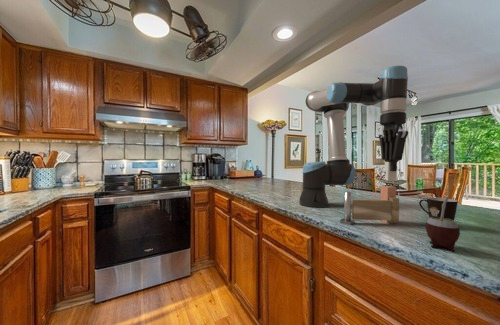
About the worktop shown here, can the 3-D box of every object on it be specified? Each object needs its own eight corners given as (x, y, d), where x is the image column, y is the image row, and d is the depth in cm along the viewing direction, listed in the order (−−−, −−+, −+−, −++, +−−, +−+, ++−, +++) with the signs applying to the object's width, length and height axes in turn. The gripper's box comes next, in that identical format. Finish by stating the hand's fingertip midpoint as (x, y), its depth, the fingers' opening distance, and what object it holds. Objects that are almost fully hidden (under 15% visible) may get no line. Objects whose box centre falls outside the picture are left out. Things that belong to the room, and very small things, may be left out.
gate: (351, 219, 82) (351, 196, 82) (394, 220, 81) (395, 197, 81) (354, 221, 80) (354, 197, 79) (398, 222, 79) (399, 198, 79)
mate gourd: (439, 241, 63) (440, 192, 62) (470, 253, 55) (472, 197, 55) (417, 243, 62) (418, 192, 61) (446, 255, 54) (447, 197, 54)
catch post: (387, 222, 81) (387, 187, 81) (380, 220, 85) (380, 185, 85) (395, 222, 82) (395, 187, 82) (387, 219, 85) (388, 185, 85)
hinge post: (344, 220, 84) (344, 190, 84) (354, 222, 81) (355, 192, 81) (339, 222, 81) (340, 191, 81) (350, 224, 78) (351, 193, 78)
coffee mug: (463, 230, 73) (464, 202, 73) (435, 228, 75) (436, 201, 75) (440, 220, 85) (441, 196, 85) (416, 219, 86) (417, 195, 86)
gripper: (418, 108, 66) (415, 183, 66) (392, 116, 79) (390, 178, 79) (393, 108, 66) (390, 182, 67) (372, 116, 79) (370, 178, 80)
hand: (390, 180), depth 73 cm, fingers closed
